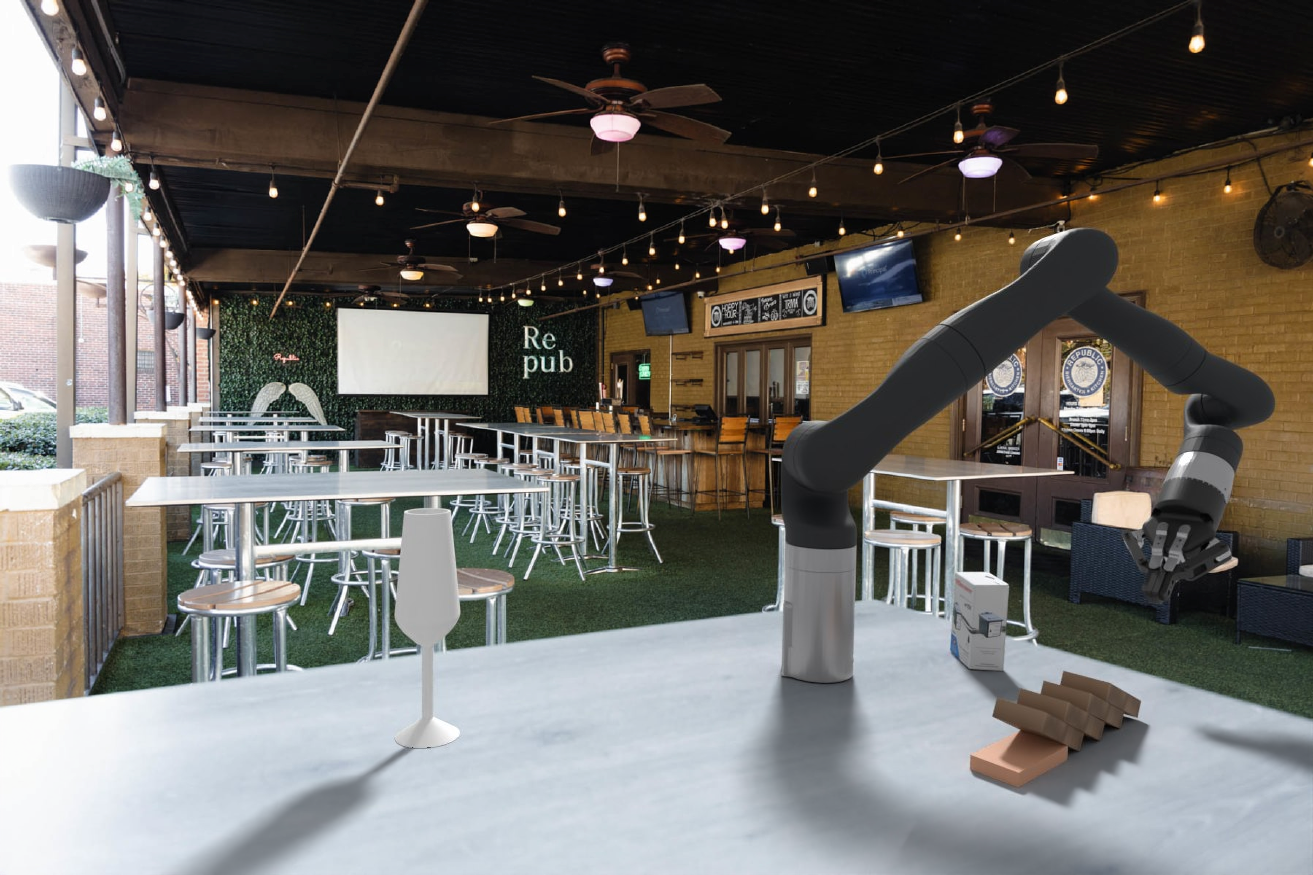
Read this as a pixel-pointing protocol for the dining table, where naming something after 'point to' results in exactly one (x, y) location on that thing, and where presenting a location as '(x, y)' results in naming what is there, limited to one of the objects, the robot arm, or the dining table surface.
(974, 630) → the ink box
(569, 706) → the dining table surface
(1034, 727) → the tile
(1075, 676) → the tile
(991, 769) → the tile
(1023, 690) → the tile
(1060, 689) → the tile
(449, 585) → the champagne flute
